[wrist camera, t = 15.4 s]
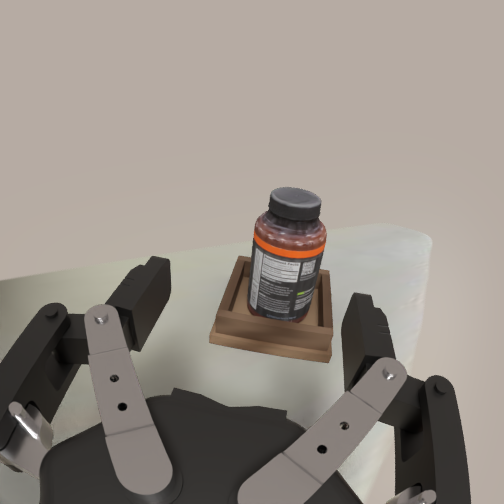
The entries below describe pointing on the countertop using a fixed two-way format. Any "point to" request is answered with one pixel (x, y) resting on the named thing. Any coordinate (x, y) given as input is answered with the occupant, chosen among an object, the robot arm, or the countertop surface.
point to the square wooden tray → (274, 322)
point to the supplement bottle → (286, 256)
